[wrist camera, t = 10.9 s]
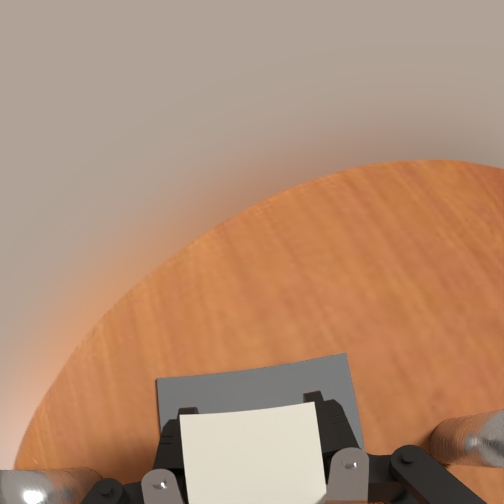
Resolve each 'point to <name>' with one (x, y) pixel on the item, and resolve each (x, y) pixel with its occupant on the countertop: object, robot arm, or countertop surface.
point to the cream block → (254, 456)
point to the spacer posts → (441, 447)
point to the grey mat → (262, 389)
